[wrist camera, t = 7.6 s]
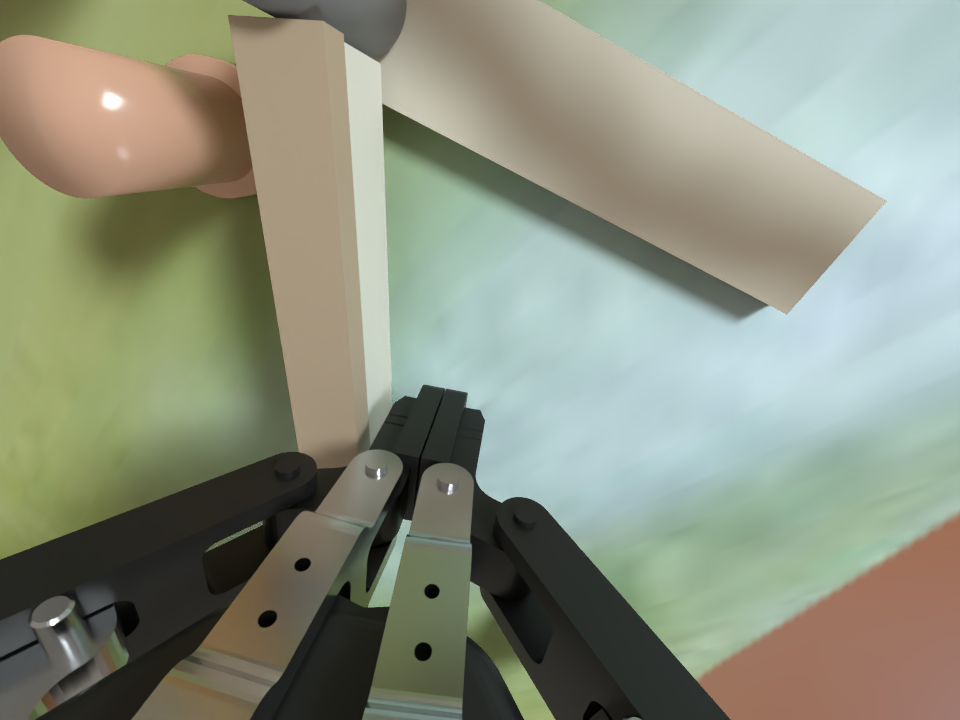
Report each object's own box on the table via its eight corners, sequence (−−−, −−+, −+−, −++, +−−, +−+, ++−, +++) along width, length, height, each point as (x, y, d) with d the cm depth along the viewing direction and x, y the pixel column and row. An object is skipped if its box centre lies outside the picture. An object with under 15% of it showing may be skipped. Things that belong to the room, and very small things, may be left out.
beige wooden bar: (305, -68, 11) (143, -229, 6) (406, -63, 11) (316, -224, 6) (350, 436, 18) (291, 535, 13) (411, 442, 18) (371, 545, 13)
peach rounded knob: (179, 35, 13) (-55, -42, 8) (301, 97, 14) (158, 64, 8) (167, 163, 15) (-31, 172, 10) (276, 215, 15) (144, 250, 10)
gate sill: (328, -109, 11) (311, -131, 10) (862, 197, 13) (886, 201, 13) (294, 55, 13) (277, 49, 12) (771, 304, 15) (787, 314, 14)
